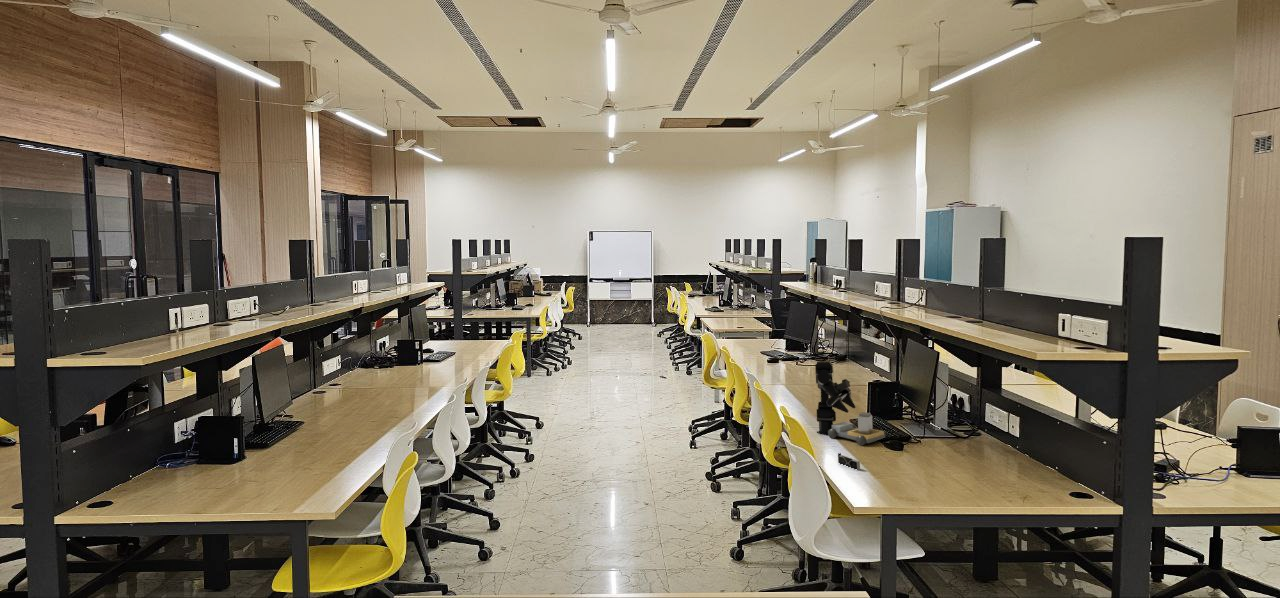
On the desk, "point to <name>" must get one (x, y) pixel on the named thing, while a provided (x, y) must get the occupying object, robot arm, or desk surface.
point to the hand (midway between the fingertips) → (851, 410)
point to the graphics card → (848, 462)
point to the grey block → (865, 424)
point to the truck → (854, 433)
